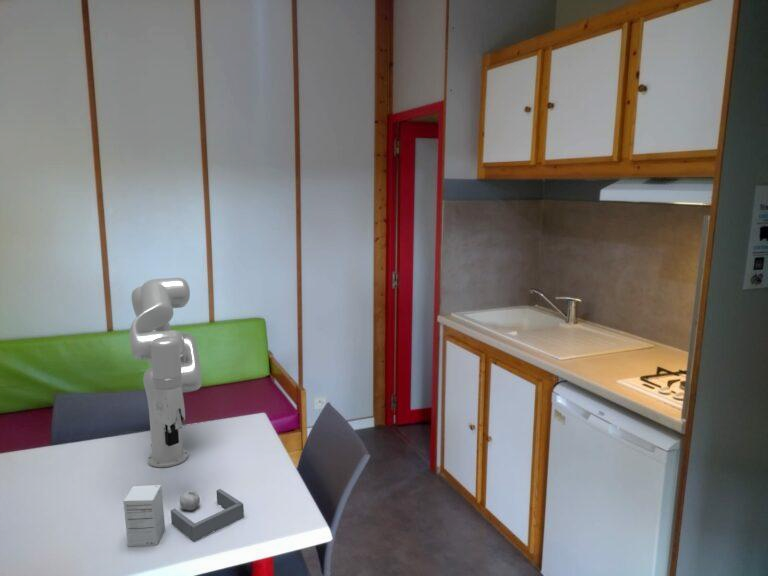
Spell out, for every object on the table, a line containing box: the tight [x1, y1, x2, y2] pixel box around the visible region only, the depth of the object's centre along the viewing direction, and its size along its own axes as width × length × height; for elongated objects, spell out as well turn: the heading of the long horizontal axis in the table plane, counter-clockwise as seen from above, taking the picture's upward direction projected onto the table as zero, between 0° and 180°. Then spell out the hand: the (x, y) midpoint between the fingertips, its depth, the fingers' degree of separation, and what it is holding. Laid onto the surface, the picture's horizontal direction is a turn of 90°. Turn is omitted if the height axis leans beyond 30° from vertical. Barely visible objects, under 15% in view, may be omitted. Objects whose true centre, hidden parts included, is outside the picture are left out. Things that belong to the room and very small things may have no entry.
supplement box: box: [123, 484, 166, 547], centre depth 147 cm, size 7×7×13 cm
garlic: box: [179, 490, 201, 511], centre depth 161 cm, size 6×5×5 cm
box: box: [170, 488, 245, 542], centre depth 155 cm, size 11×15×4 cm
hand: (172, 443), depth 164 cm, fingers closed
